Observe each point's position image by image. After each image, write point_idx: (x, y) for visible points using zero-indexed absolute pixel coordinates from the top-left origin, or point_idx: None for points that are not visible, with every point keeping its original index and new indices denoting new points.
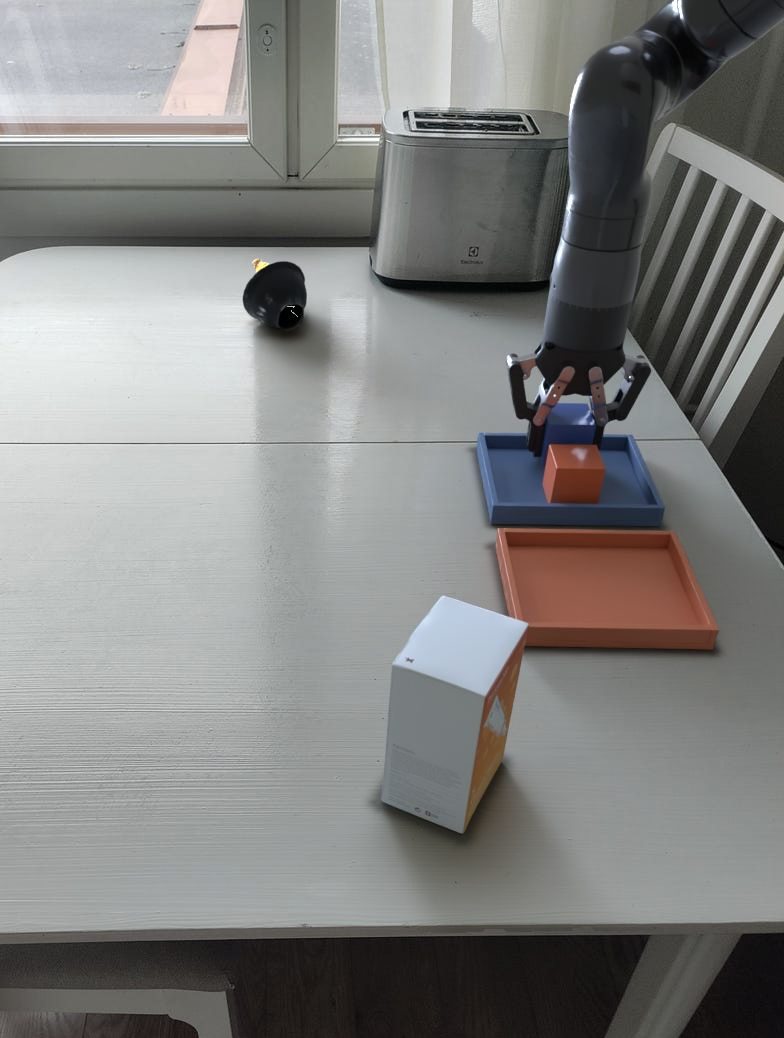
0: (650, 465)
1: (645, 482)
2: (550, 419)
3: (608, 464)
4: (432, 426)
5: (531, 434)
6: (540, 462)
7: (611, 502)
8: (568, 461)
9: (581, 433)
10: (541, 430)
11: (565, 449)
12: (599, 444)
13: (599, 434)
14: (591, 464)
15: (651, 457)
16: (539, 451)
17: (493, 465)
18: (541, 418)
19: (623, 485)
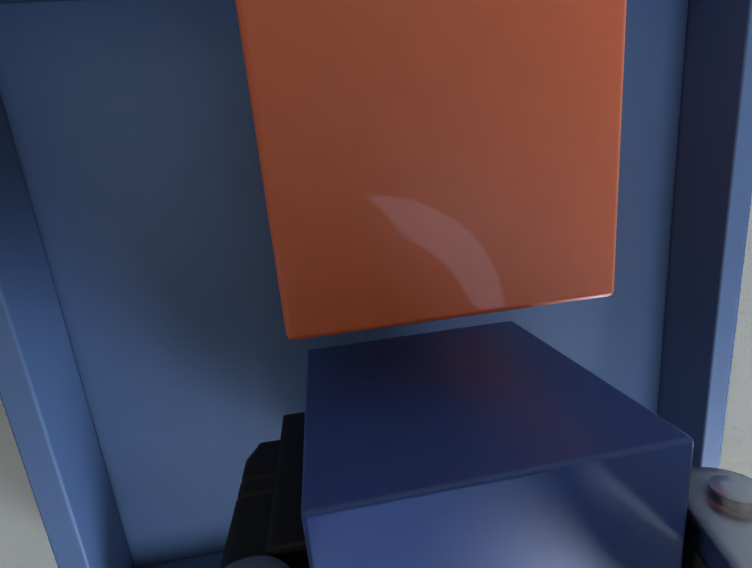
0: (31, 498)
1: (7, 258)
2: (668, 517)
3: (206, 447)
4: None
5: None
6: None
7: (198, 139)
8: (528, 39)
9: (403, 438)
10: None
11: (523, 230)
12: (251, 473)
13: (254, 520)
14: (348, 2)
15: (29, 554)
16: None
17: (638, 358)
18: (732, 513)
19: (140, 291)
